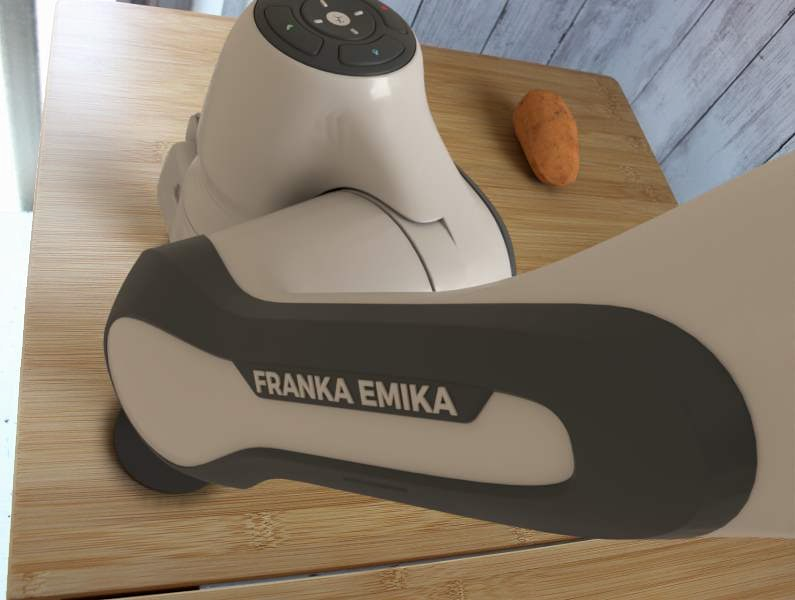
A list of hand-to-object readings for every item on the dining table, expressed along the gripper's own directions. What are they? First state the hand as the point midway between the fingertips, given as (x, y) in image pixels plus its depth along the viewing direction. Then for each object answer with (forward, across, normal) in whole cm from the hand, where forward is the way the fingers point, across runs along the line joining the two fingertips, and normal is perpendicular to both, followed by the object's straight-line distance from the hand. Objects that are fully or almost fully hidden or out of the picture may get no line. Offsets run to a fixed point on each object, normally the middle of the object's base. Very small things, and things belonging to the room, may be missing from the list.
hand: (209, 349), depth 58 cm
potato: (+16, -25, +54) cm, 62 cm away
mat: (+16, 0, 0) cm, 16 cm away
